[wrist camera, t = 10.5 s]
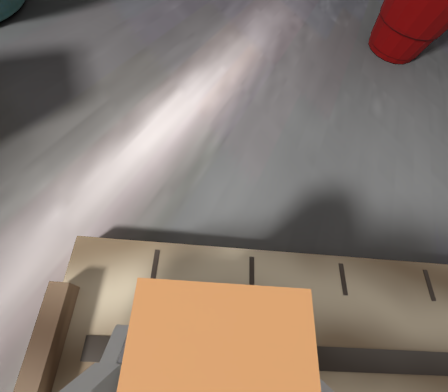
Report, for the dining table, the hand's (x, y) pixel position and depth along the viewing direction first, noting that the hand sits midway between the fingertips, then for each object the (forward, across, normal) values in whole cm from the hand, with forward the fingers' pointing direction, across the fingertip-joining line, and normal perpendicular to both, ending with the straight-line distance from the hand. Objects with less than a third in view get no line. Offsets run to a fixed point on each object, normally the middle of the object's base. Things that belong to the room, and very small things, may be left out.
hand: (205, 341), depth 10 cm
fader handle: (+3, 0, +4) cm, 5 cm away
